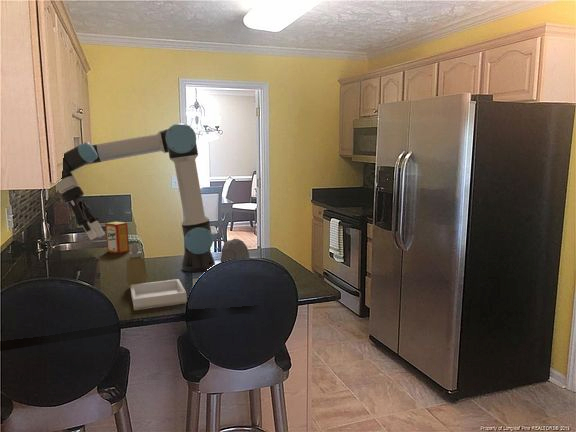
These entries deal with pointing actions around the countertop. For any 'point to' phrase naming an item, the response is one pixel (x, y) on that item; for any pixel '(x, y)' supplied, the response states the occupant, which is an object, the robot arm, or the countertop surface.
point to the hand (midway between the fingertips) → (98, 237)
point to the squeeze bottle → (136, 267)
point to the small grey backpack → (234, 250)
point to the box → (158, 294)
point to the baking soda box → (117, 237)
